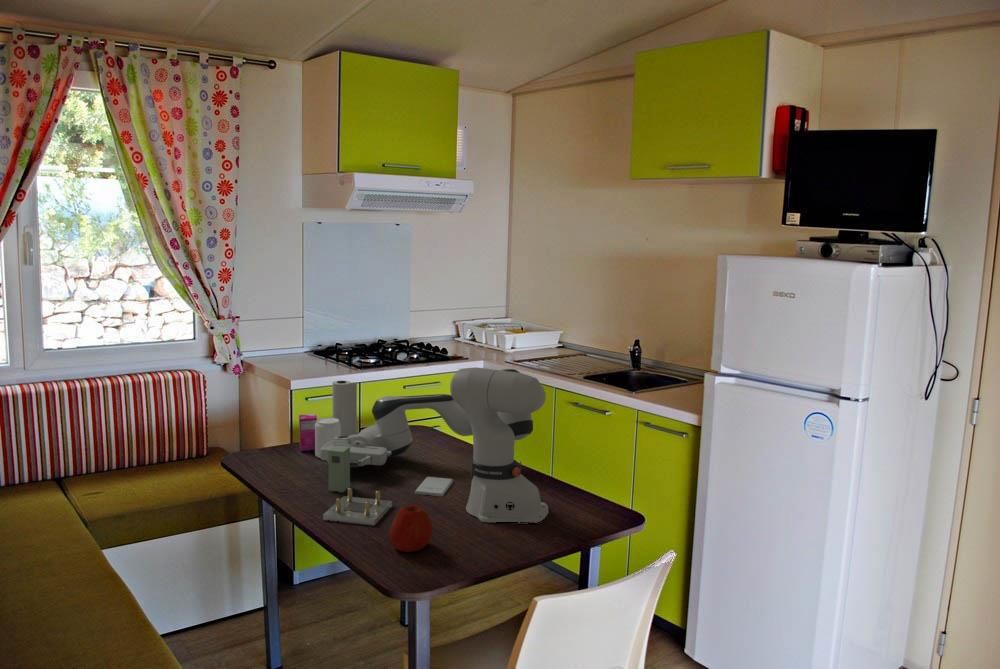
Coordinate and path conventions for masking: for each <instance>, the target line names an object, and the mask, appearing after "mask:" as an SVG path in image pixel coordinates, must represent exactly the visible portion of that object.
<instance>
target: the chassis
mask: <svg viewBox="0 0 1000 669" xmlns="http://www.w3.org/2000/svg"><path fill="white" fill-rule="evenodd" d="M392 507H393V501H392V500H386V499H381V491H380V490H375V498H366V497H359V496H358V497H357V496H356V497H355V496H353V488H352V487H349V488H348V489H347V495H343V496H342V497H337V498H335V503H334V504H333V505H332V506H331V507H330V508H329V509H328V510H326V511H325V512H324V513H323V514H322V518H323V519H322V520H323V521H328V520H329V521H330V522H337V521H339V523H348V524H353V525H354V524H357V525H363V526H365V525H366V526H376V524H378V522H379V521H380V520H381V519H382V518H383V517H384V515H386V513H387V512H388V511H389V510H390V509H391V508H392ZM329 521H328V522H329Z"/></svg>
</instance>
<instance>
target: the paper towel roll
mask: <svg viewBox="0 0 1000 669" xmlns="http://www.w3.org/2000/svg"><path fill="white" fill-rule="evenodd" d="M357 384H358V383H357V382H351V381H349V380H336V381H335V380H334V381H332V384H331V385H332V388H331V390H332V394H331V395H332V418H337V419H339V422H340V424H341V436H350V435H355V434H358V433H357V432H358V431H357V428H358V427H357V424H358V423H357V421H358V420H357V419H358V416H357V414H358V413H357V412H358V411H357V409H358V406H357V405H358V404H357V403H358V399H357V398H358V395H357V394H358V392H357V391H358V390H357V389H358V386H357Z"/></svg>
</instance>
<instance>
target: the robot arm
mask: <svg viewBox="0 0 1000 669" xmlns="http://www.w3.org/2000/svg"><path fill="white" fill-rule="evenodd" d="M449 391H450V394H447V393H445V394H443V393H442V394H440V393H438V394H436V393H435V394H419V395H407V396H406V395H403V396H401V395H399V396H393V395H387V396H383V397H380V398H379V399H376V401H375V402H374V403H373V406H372V408H371V413H372V415H373V419H374V421H375V424H371V425H369V426H367V427H364V429H362V430H361V431H360V432H359V433H357V434H355V435H350V436H337V437H335V438H334V441H330V442H328V443H327V444H325V445H324V446H323V447H321V450H320V457H321V458H320V460H322V461H327V462H326V463H328V450H330V449H331V448H333V447H334V446H335V445H336V446H346V447H350V464H357V466H358V467H363V466H366V465H370V466H371V465H373V466H383V465H385V463H386V462H387V461H388V460H387V459H388V458H389V457H396V456H399V455H401V454H404V453H405V452H407V451H408V450H409V448H410V447H411V446H412V444H413V442H414V441H413V435H412V432H411V428H410V426H409V425H410V424H409V422H408V418H407V415H406V411H407V410H408V411H409V410H423V409H425V410H426V409H428V410H433V411H435V412H437V414H438V415H439V416H440V417H441V418H442V419H443V421H444V422H445V424H446V425H447V427H448V428H449V429H450V430H451V431H452V432H454V433H455V434H456V435H458V436H462V437H470V436H472V441H473V454H472V455H473V456H472V459H471V463H470V476H471V477H470V479H471V484H470V485H471V486H470V491H469V497H468V500H467V504H466V506H465V510H466V512H467V513H468V514H469V515H471V516H473V517H476V518H477V519H478V520H479V521H481V522H482V523H496V522H518V523H517V524H521V523H520V522H531V523H532V522H534V523H537V522H540V521H542V520H543V519H545V517H546V516H547V514H548V515H549V507H548V504H546V503H545V502H542V501H541V499H542V498H541V496H540V495H541V494H540V490H539V488H538V486H536V485H535V484H534V483H533V482H532V481H530V480H529V479H527V477H526V476H524V475H523V474H522V461H519V462H518V461H517V460H516V459H515V441H521V440H522V439H525V438H527V437H528V436H530V435H531V434H532V432H533V431H534V421H533V419H532V413H535V412H536V411H539V410H540V409H542V407H543V406H544V405H545V402H546V398H547V395H546V390H545V388H544V387H543V385H542V384H541V382H540V381H539V379H538V378H536V377H534V376H532V375H529V374H525V373H523V372H520V371H518V370H517V369H515V368H503V369H502V368H501V369H491V368H485V367H466V368H460V369H458V370H457V371H456V372H455V373H454V374H453V376H452V377H451V380H450V384H449ZM547 517H548V516H547ZM547 517H546V518H547ZM545 520H546V519H545ZM542 522H543V521H542ZM540 523H541V522H540ZM537 524H538V523H537Z"/></svg>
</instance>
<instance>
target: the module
mask: <svg viewBox="0 0 1000 669" xmlns="http://www.w3.org/2000/svg"><path fill="white" fill-rule="evenodd" d="M327 464H328V466H327V467H328V468H327V469H328V491H329V492H335V491H338V492H337V493H345V491H347V490H348V488H351V476H350V475H351V463H350V447H346V446H336V445H335V446H334V447H333V448H331V449H330V450H328V462H327ZM346 489H347V490H346Z"/></svg>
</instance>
